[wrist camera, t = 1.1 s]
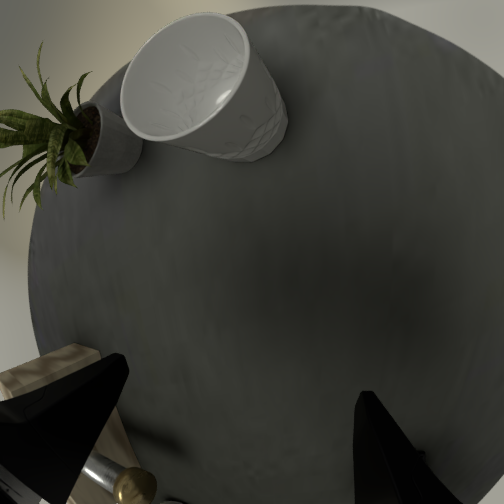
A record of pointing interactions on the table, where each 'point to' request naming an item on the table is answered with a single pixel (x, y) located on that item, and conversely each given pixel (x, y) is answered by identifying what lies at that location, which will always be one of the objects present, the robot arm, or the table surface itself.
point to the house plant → (69, 140)
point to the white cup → (204, 91)
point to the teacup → (171, 502)
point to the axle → (121, 479)
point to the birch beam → (113, 434)
